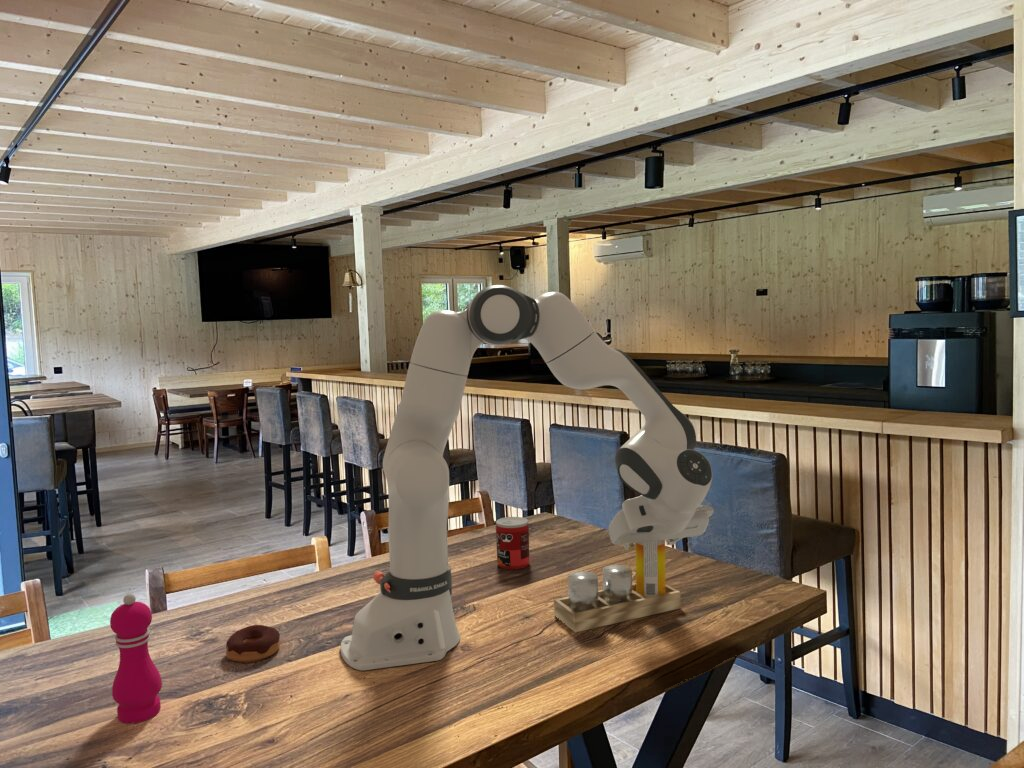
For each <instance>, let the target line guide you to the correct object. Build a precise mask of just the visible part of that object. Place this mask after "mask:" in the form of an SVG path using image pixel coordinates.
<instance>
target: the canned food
mask: <svg viewBox="0 0 1024 768" xmlns="http://www.w3.org/2000/svg"><path fill="white" fill-rule="evenodd" d="M529 531H530V527H529V520H528V518H525V517H520V516H507V517H500V518H499V519H497V520H496V522H495V537H496V538H495V539H496V543H495V544H496V562H497V565H498V567H500V569H501V568H502V569H505V570H519V569H523V568H527V566H529V564H530V532H529Z"/></svg>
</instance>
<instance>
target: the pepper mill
mask: <svg viewBox="0 0 1024 768" xmlns="http://www.w3.org/2000/svg"><path fill="white" fill-rule="evenodd" d="M136 598H137V597H136V596H135V594H133V593H128V594H126V595H124V597H123V600H122V603H123V604H121V605H119V606H117V607H116V608H115V609H114V610H113V611H112V613H111V616H110V620H109V624H110V629H111V631H112V632H113V633H115V634H116V635H115V637H114V640H115V646H116V647H117V648H118V650H119V663H118V664H119V665H118V668H117V671H116V674H115V677H114V679H113V682H112V687H111V689H112V690H111V693H112V694H111V696H112V699H113V701H115V703H117V704H118V706H117V707H116V711H117V720H118V721H119V722H120V723H123V724H137V723H141V722H145V721H147V720H150V719H151V718H153V717H155V716H157V714H158V713H160V711H161V707H162V706H161V698H160V696H159V694H160V691H161V689H162V687H163V682H162V676H161V673H160V672H159V669H158V667H157V666H156V665H155V663H154V661H153V659H152V658H151V655H150V652H149V643H148V642H149V640H150V639H151V635H150V633H151V631H150V629H149V626H150V625H151V623H152V621H153V613H152V610H151V608H150V607H149V606H148V605H147V604H146V603H144V602H141V601H136V600H137V599H136Z"/></svg>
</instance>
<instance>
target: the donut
mask: <svg viewBox="0 0 1024 768" xmlns="http://www.w3.org/2000/svg"><path fill="white" fill-rule="evenodd" d="M280 637H281V633H280V632H279V631H278V630H277V629H276V627H270V626H267V625H263V624H254V625H253V624H252V625H249V626H246V627H243V628H241V629H239V630H236V631H235V632H234V633H232V635H230V636H229V638H228V639H227V641H226V646H225V647H226V651H225V654H226V655H225V656H226V658H227V659H229V661H233V662H239V663H253V662H258V661H261V660H263V659H266V658H268V657H270V656H272V655H274V654H275V653H276V652H278V650H279V648H280V647H281V640H280V639H281V638H280Z"/></svg>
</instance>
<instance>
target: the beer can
mask: <svg viewBox="0 0 1024 768" xmlns="http://www.w3.org/2000/svg"><path fill="white" fill-rule="evenodd" d="M634 544H635V546H634V548H635V583H636V592H637V593H639V594H640V595H642V596H644V597H645V598H647V597H651V596H656V595H660V594H665V593H666V540H657V541H648V542H639V543H634Z"/></svg>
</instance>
